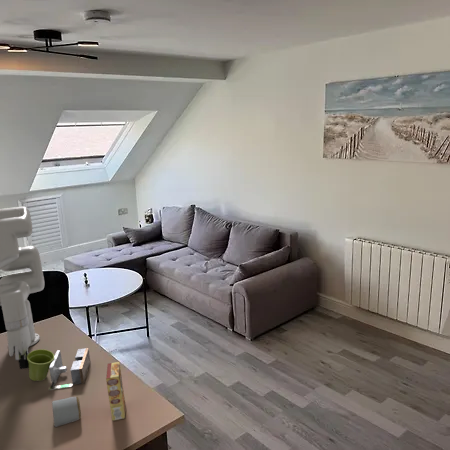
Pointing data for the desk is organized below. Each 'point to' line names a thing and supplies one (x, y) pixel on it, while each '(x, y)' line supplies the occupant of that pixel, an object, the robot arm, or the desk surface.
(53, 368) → the grey flat bar
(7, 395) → the desk surface
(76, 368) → the grey slotted box
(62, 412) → the ceramic mug
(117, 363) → the candy box
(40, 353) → the plant pot
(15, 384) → the desk surface
